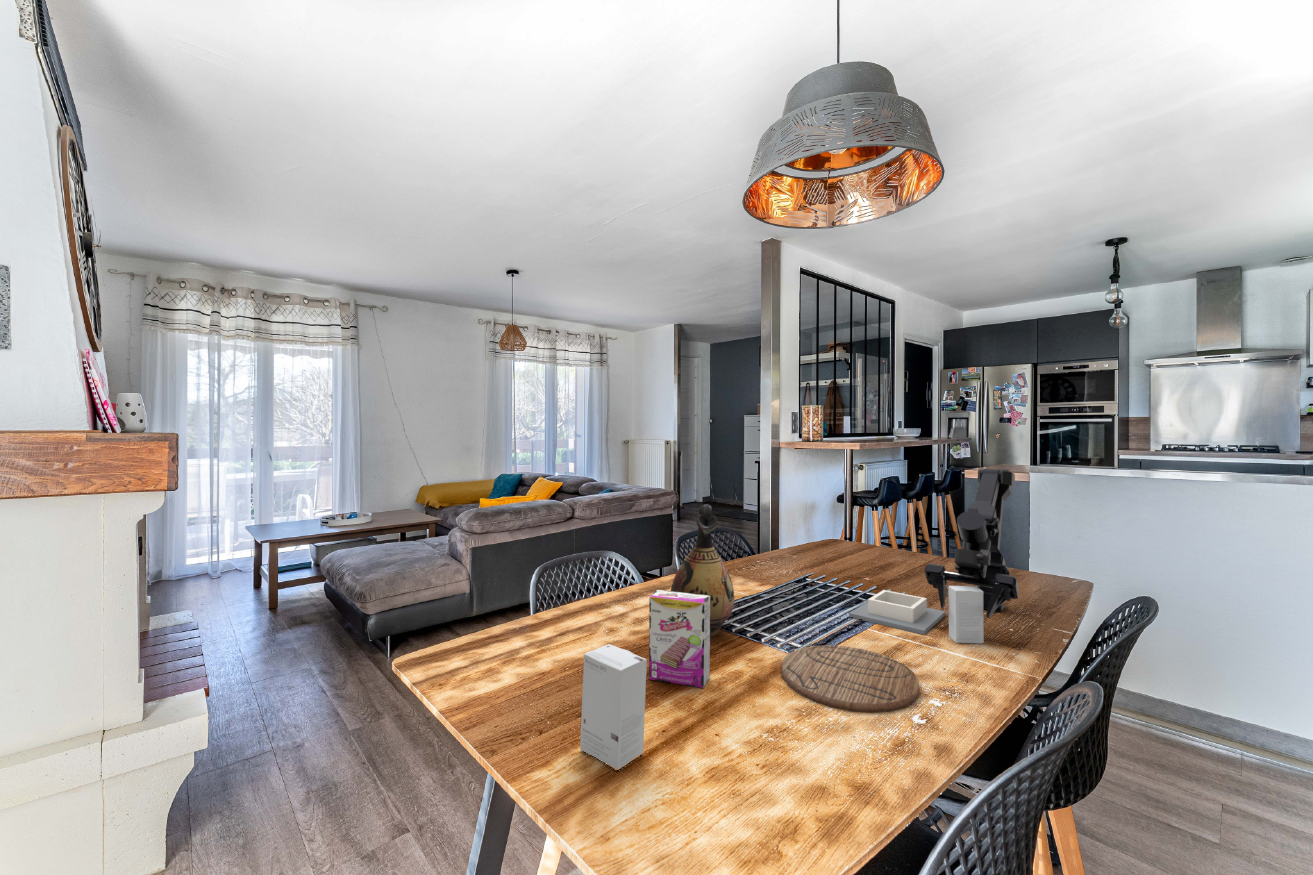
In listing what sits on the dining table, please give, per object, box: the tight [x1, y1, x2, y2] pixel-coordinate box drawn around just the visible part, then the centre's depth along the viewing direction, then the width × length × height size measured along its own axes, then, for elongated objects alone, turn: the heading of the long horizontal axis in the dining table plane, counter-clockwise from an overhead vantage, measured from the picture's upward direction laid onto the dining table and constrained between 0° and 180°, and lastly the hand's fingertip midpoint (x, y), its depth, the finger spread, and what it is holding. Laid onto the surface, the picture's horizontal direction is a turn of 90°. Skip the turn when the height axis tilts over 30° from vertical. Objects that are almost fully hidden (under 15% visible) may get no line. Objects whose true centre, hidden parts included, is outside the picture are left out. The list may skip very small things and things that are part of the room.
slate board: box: [848, 601, 946, 636], centre depth 140 cm, size 18×18×1 cm
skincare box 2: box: [947, 585, 985, 644], centre depth 125 cm, size 6×4×12 cm
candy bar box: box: [648, 589, 711, 689], centre depth 105 cm, size 11×5×16 cm, turn 71°
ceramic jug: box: [670, 503, 735, 637], centre depth 131 cm, size 17×15×30 cm
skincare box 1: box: [579, 643, 648, 769], centre depth 81 cm, size 8×6×15 cm
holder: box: [867, 589, 928, 623], centre depth 140 cm, size 11×11×4 cm
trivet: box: [781, 644, 920, 714], centre depth 105 cm, size 25×25×2 cm
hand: (964, 612), depth 124 cm, fingers open, 9 cm apart
